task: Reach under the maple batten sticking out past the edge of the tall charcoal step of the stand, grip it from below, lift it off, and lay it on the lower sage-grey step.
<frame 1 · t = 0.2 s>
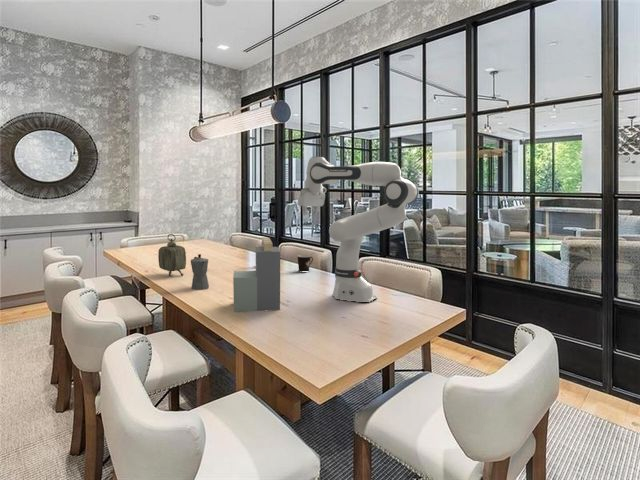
hand: (309, 214, 208), 40 cm above the table, tool pointing down, fingers open, 8 cm apart
coffeepot: (199, 287, 212), on the table
coffee mug: (306, 271, 257), on the table
step stand: (256, 306, 181), on the table
tabletop clock: (172, 276, 238), on the table
batten: (266, 247, 183), point 26 cm above the table, touching step stand
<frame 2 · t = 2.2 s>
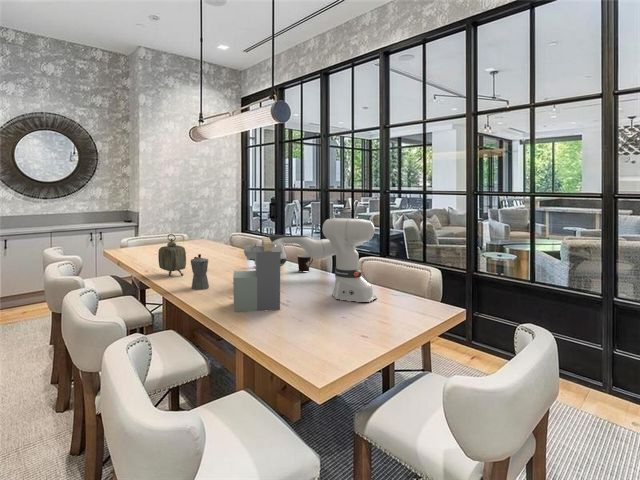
hand: (264, 244, 205), 24 cm above the table, tool pointing upward, fingers open, 8 cm apart
nothing on the table moved.
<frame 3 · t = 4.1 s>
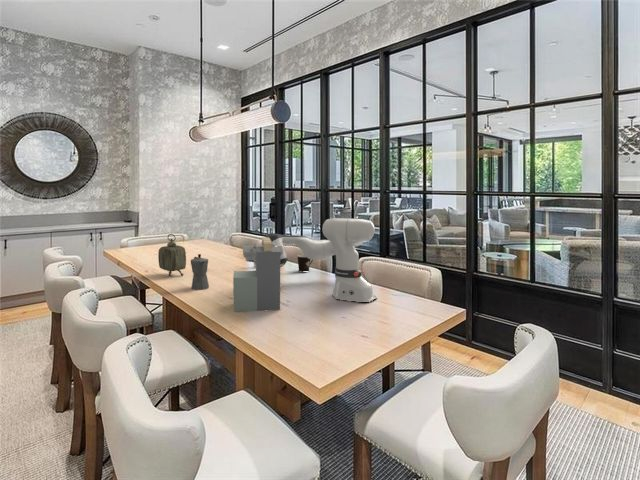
hand: (264, 245, 194), 25 cm above the table, tool pointing upward, fingers open, 8 cm apart
nothing on the table moved.
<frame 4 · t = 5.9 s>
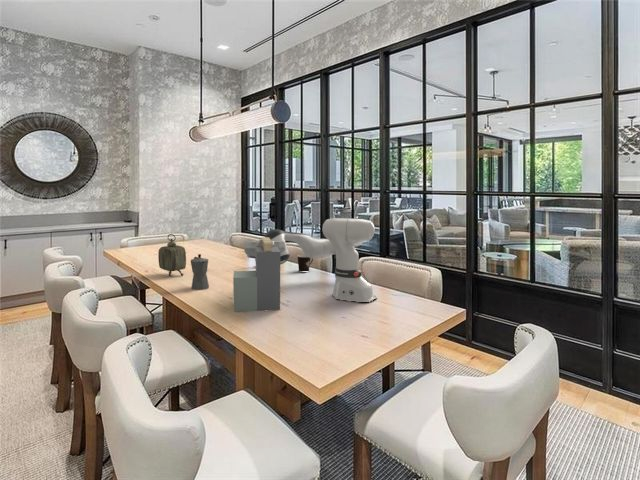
hand: (265, 241, 189), 28 cm above the table, tool pointing upward, fingers closed on batten, 3 cm apart
batten: (266, 247, 183), point 26 cm above the table, touching gripper
everything else where it was.
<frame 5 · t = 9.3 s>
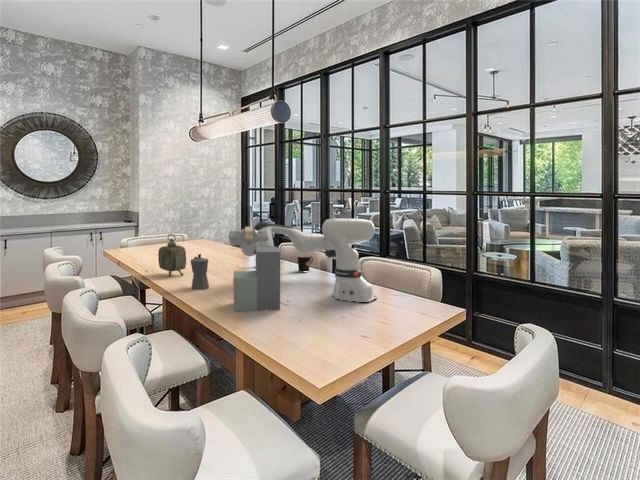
hand: (248, 230, 200), 32 cm above the table, tool pointing upward, fingers closed on batten, 3 cm apart
batten: (249, 236, 194), point 30 cm above the table, touching gripper
everything else where it was.
when the fingers open (19 cm above the table, at t = 12.7 s): batten drops 1 cm, resting on step stand.
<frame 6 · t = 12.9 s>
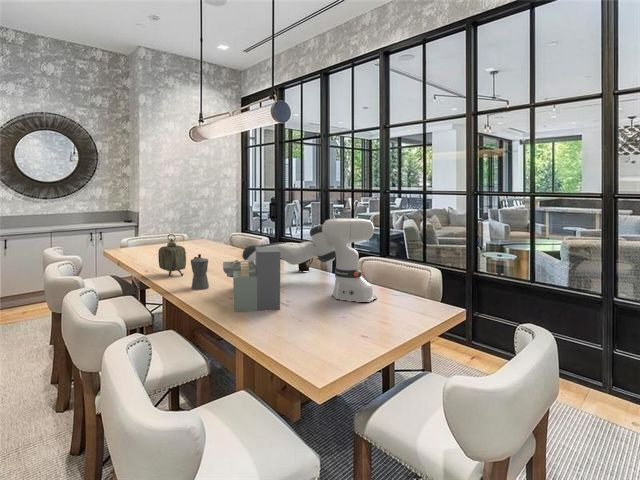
hand: (244, 261, 188), 19 cm above the table, tool pointing upward, fingers open, 6 cm apart
batten: (244, 271, 183), point 15 cm above the table, touching step stand
everything else where it was.
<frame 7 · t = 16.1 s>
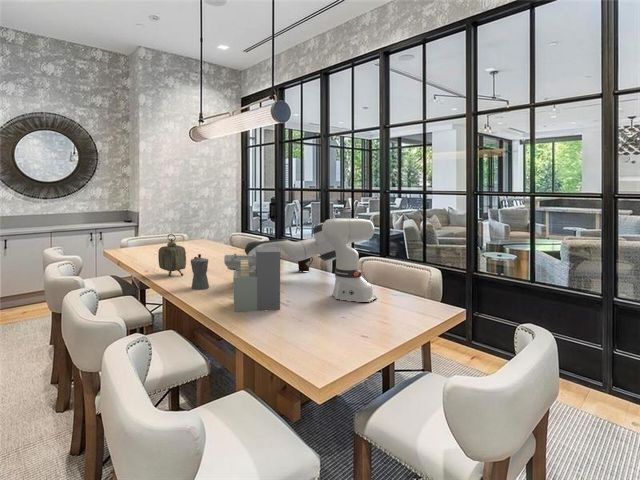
hand: (244, 255, 200), 19 cm above the table, tool pointing upward, fingers open, 8 cm apart
nothing on the table moved.
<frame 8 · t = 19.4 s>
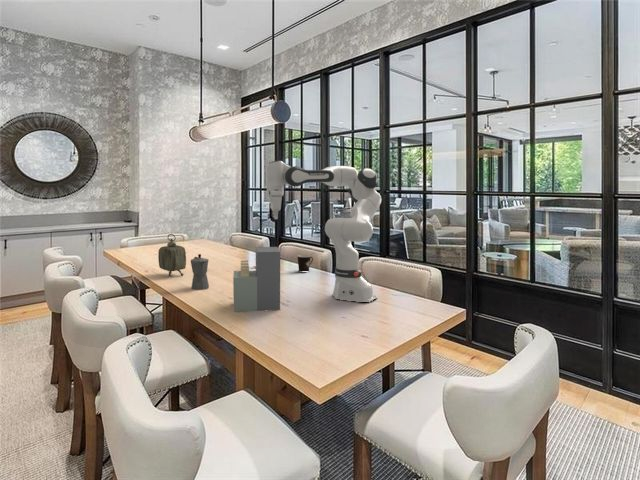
hand: (275, 218, 211), 37 cm above the table, tool pointing down, fingers open, 8 cm apart
nothing on the table moved.
at the end: batten inside the target area on the step stand (0.2 cm from its centre), point 15.0 cm above the step stand's base; batten tilted 0°; the gripper is holding nothing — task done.
